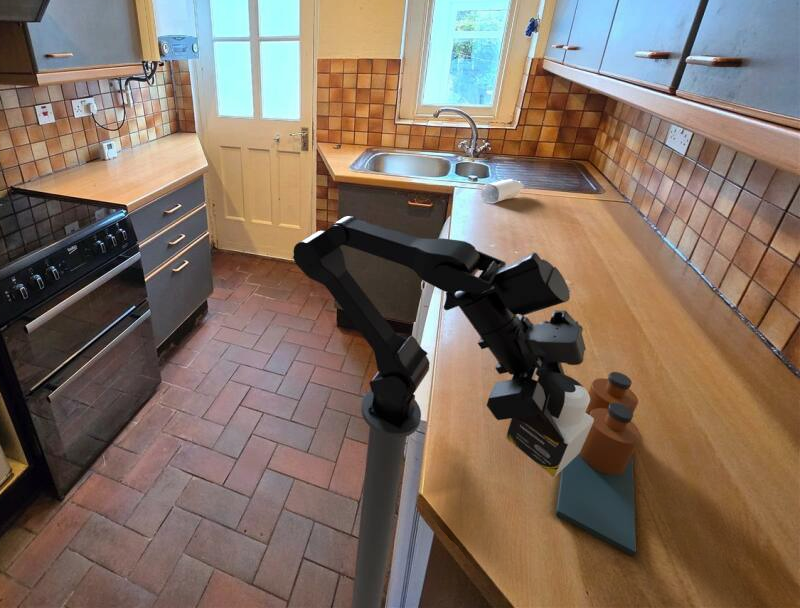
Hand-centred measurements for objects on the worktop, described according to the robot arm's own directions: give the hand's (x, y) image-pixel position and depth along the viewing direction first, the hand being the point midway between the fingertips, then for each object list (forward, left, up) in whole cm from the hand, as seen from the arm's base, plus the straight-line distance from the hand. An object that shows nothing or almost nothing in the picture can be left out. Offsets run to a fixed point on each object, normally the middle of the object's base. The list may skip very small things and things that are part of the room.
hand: (565, 419), depth 56 cm
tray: (+6, +7, -12) cm, 16 cm away
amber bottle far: (+7, +16, -11) cm, 20 cm away
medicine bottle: (-2, 0, -7) cm, 7 cm away
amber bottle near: (+7, +8, -11) cm, 15 cm away
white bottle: (-29, +123, -13) cm, 127 cm away
